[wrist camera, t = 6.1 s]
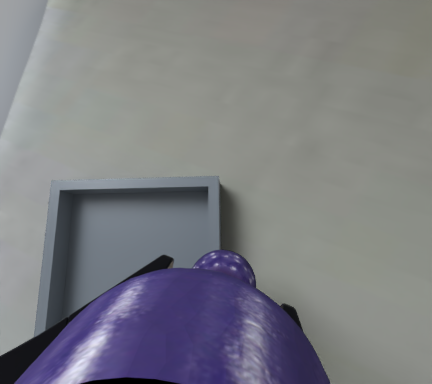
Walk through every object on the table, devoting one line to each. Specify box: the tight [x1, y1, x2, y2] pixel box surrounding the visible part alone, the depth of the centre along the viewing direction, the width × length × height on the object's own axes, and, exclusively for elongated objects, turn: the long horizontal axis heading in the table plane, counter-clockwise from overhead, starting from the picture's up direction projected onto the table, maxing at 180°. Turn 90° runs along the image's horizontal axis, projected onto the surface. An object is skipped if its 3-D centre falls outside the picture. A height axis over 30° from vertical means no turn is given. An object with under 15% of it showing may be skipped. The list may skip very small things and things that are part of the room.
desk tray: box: [34, 176, 221, 337], centre depth 21 cm, size 14×14×2 cm
